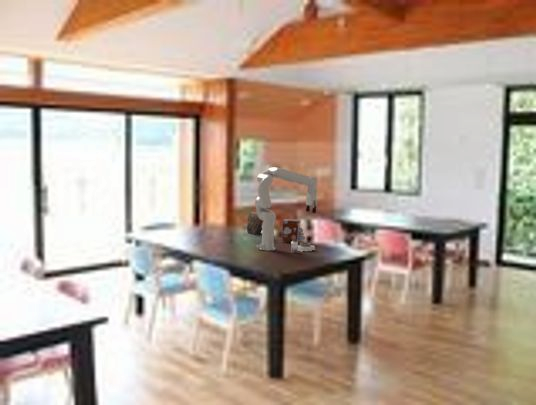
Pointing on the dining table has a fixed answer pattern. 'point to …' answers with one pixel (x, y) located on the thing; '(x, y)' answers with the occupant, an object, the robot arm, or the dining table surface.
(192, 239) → the dining table surface
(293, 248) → the lens
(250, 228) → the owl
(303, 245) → the camera body
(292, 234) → the brown patterned box
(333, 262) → the dining table surface
